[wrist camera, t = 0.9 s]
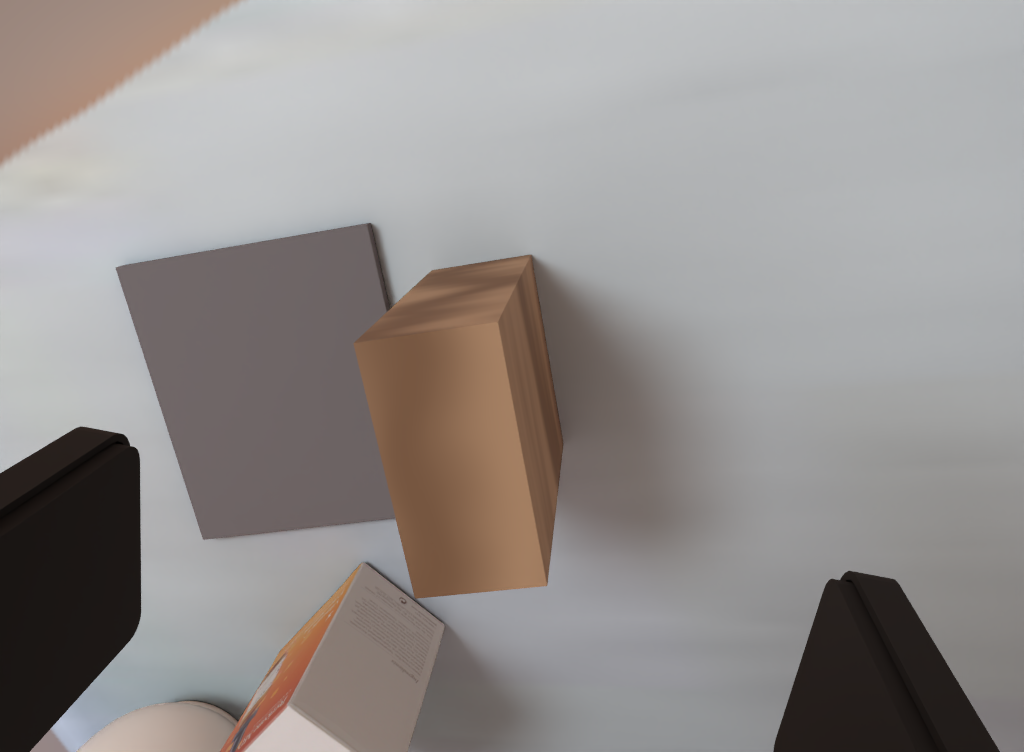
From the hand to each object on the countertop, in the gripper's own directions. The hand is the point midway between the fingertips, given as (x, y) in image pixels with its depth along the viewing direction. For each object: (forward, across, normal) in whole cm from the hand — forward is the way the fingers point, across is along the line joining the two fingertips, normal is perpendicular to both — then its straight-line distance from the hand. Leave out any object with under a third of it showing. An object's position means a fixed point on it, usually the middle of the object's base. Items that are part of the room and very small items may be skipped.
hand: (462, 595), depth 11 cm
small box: (+26, +7, +22) cm, 34 cm away
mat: (+26, +12, +8) cm, 29 cm away
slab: (+26, +2, +5) cm, 26 cm away
